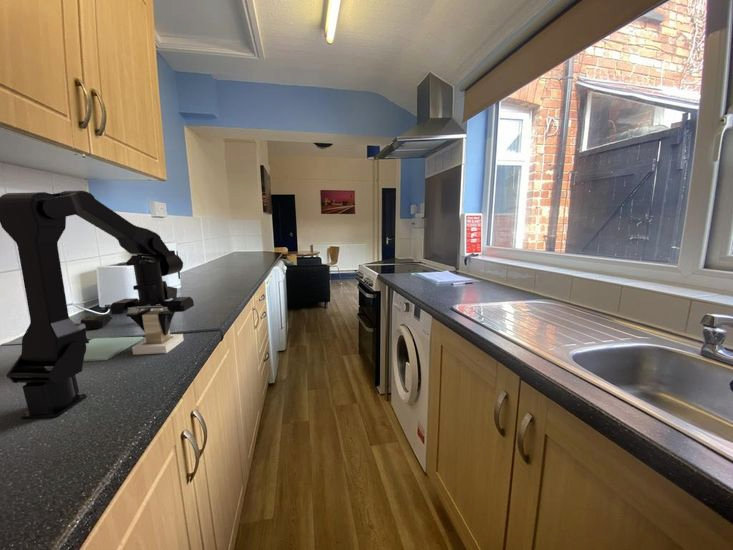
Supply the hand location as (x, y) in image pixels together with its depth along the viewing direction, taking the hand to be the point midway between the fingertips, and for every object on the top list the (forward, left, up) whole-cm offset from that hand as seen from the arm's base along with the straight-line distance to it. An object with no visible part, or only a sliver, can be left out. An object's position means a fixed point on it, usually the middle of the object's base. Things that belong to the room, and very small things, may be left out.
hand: (158, 335), depth 83 cm
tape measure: (+20, +32, -4) cm, 37 cm away
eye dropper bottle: (+23, +13, -4) cm, 27 cm away
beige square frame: (0, 0, -4) cm, 4 cm away
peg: (0, 0, -4) cm, 4 cm away
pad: (0, +16, -4) cm, 16 cm away
